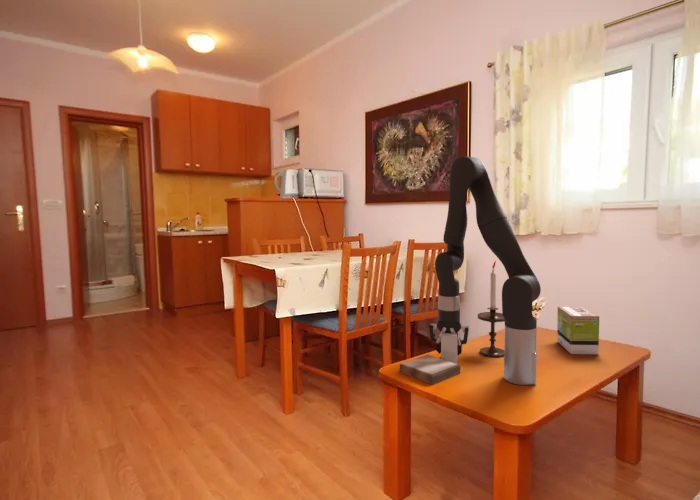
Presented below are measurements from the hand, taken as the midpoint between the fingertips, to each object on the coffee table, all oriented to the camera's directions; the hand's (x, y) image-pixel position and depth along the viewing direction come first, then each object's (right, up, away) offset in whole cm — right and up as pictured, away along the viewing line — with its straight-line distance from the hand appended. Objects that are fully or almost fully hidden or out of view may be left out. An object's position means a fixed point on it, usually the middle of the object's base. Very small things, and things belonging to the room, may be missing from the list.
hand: (448, 353), depth 149 cm
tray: (-9, -4, -10) cm, 14 cm away
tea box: (+52, -1, +11) cm, 53 cm away
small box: (0, -3, 0) cm, 3 cm away
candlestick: (+18, -2, +7) cm, 19 cm away
